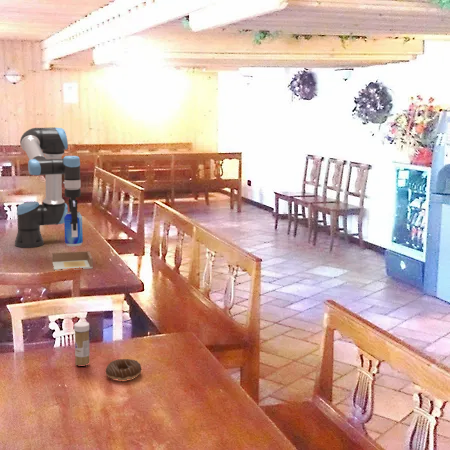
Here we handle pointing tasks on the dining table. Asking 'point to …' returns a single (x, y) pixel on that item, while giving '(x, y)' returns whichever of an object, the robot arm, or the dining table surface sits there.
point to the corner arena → (72, 260)
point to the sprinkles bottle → (81, 343)
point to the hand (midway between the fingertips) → (73, 235)
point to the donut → (123, 369)
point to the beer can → (68, 230)
